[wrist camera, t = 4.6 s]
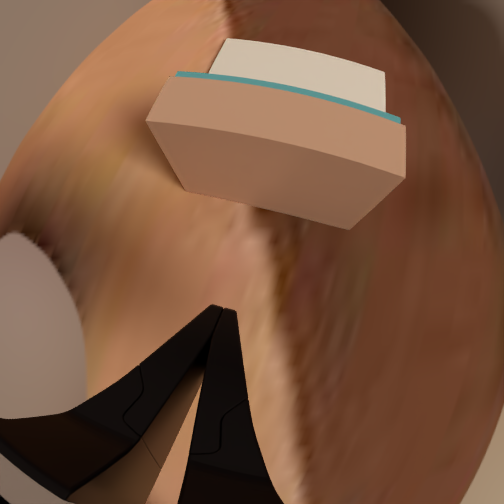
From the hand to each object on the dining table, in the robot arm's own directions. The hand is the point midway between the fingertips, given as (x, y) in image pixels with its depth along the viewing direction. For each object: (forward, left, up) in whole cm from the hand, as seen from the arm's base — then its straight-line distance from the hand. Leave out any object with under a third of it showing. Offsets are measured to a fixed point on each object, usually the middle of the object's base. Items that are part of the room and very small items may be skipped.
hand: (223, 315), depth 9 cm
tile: (+4, +8, -10) cm, 13 cm away
